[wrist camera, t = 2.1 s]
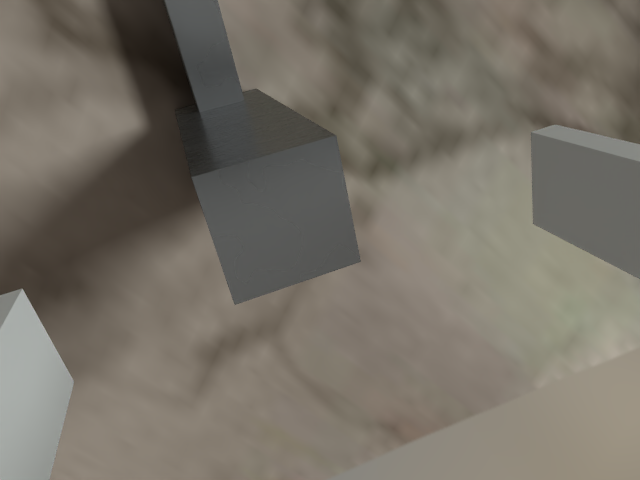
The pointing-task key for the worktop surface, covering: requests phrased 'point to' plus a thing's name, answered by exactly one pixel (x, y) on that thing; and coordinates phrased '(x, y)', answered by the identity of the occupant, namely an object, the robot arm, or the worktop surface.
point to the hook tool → (257, 168)
